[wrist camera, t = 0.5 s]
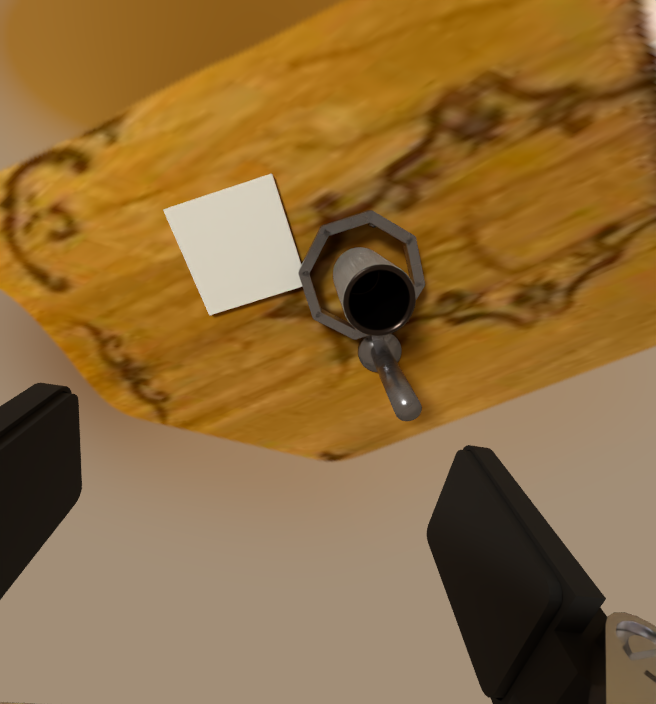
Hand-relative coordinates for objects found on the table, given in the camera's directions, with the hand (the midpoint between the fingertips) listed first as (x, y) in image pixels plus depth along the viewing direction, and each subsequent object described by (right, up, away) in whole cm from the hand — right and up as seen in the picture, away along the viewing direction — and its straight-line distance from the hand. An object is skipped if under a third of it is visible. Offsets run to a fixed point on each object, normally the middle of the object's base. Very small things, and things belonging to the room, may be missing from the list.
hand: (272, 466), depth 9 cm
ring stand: (+5, +8, +24) cm, 25 cm away
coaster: (-6, +12, +22) cm, 25 cm away
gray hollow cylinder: (+4, +10, +23) cm, 25 cm away
